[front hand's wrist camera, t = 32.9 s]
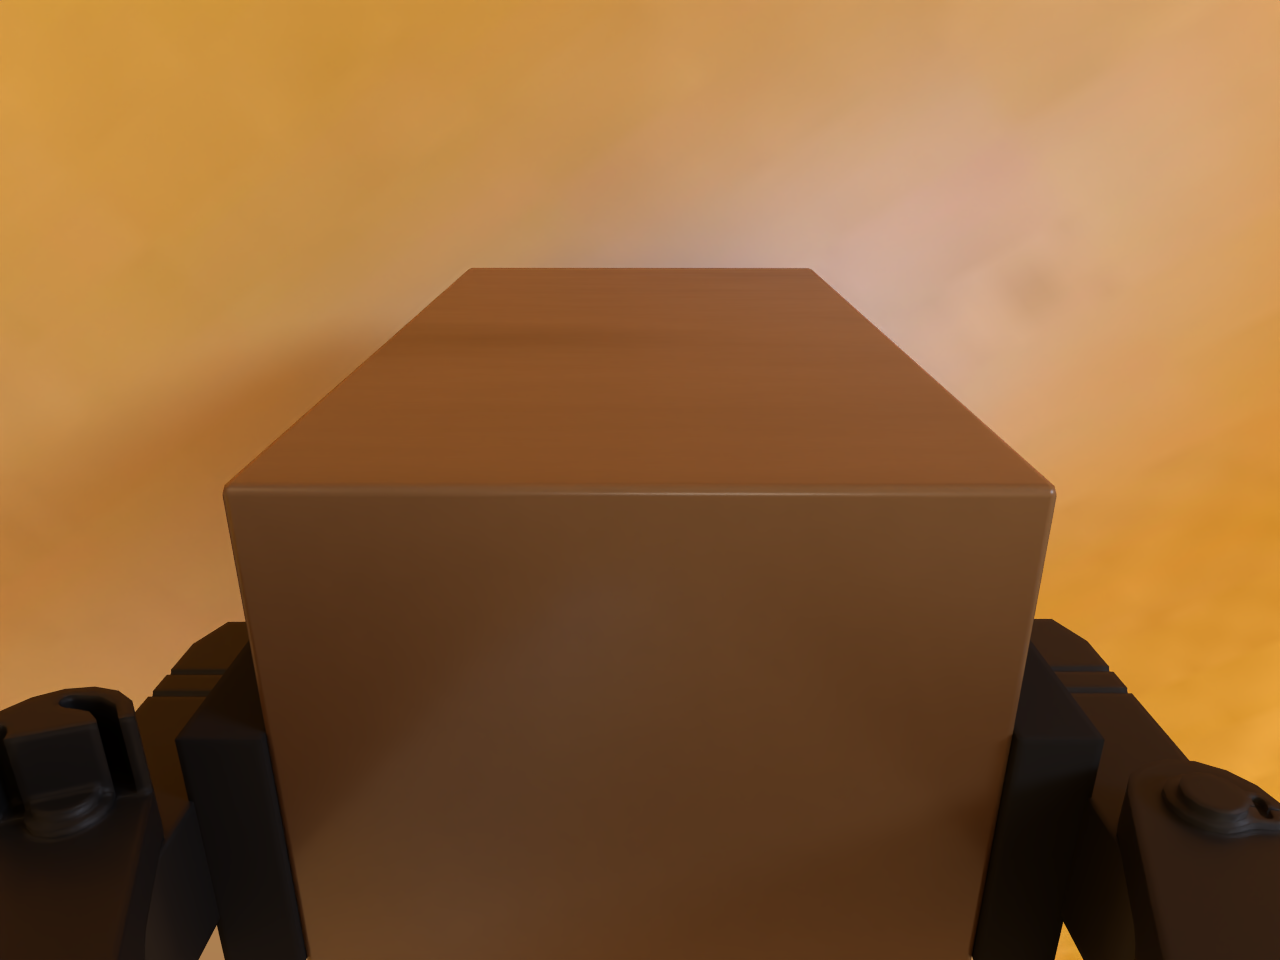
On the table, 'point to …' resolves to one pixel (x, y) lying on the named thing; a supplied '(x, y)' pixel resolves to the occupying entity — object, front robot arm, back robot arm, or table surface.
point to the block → (639, 628)
